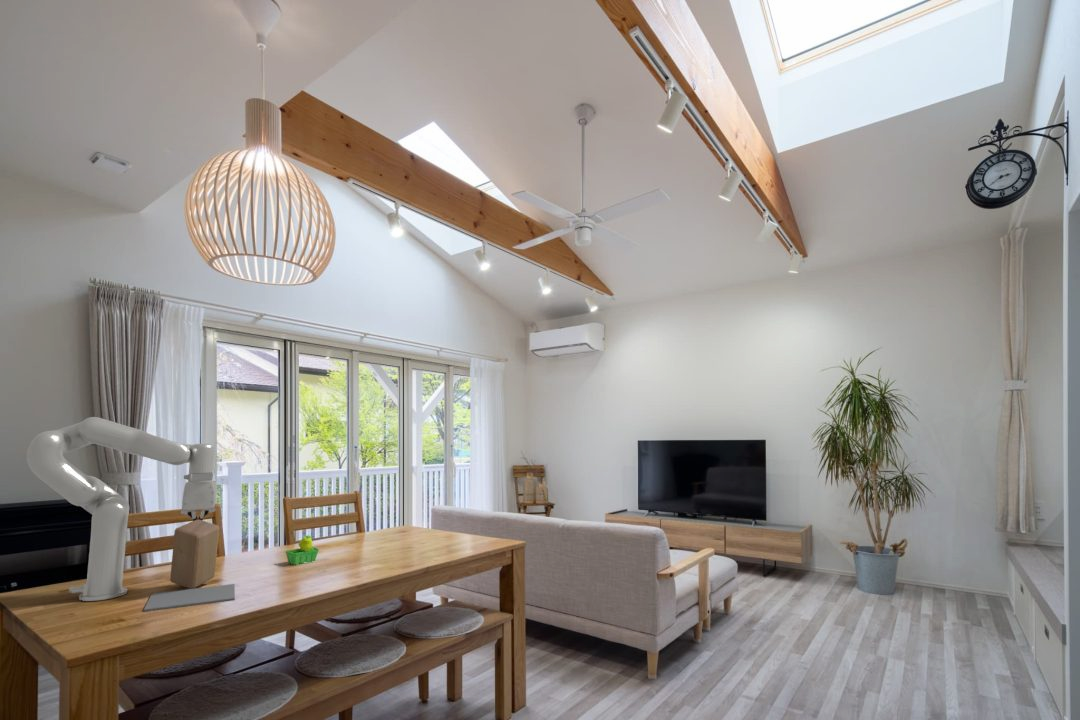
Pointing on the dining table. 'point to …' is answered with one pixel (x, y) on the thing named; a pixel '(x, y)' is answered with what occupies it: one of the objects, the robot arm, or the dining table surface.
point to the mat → (190, 597)
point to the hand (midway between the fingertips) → (197, 529)
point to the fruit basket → (303, 552)
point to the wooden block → (194, 553)
